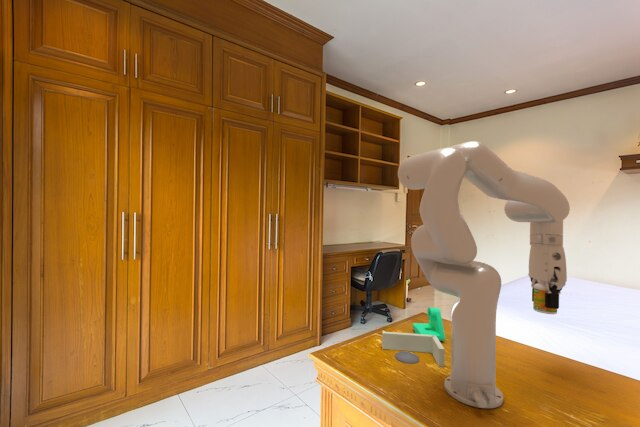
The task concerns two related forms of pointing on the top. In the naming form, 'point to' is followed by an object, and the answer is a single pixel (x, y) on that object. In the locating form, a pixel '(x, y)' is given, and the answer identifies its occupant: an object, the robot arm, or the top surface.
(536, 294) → the supplement bottle
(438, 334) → the camera mount
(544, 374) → the top surface
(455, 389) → the robot arm
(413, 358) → the pad
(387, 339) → the corner walls
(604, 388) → the top surface
